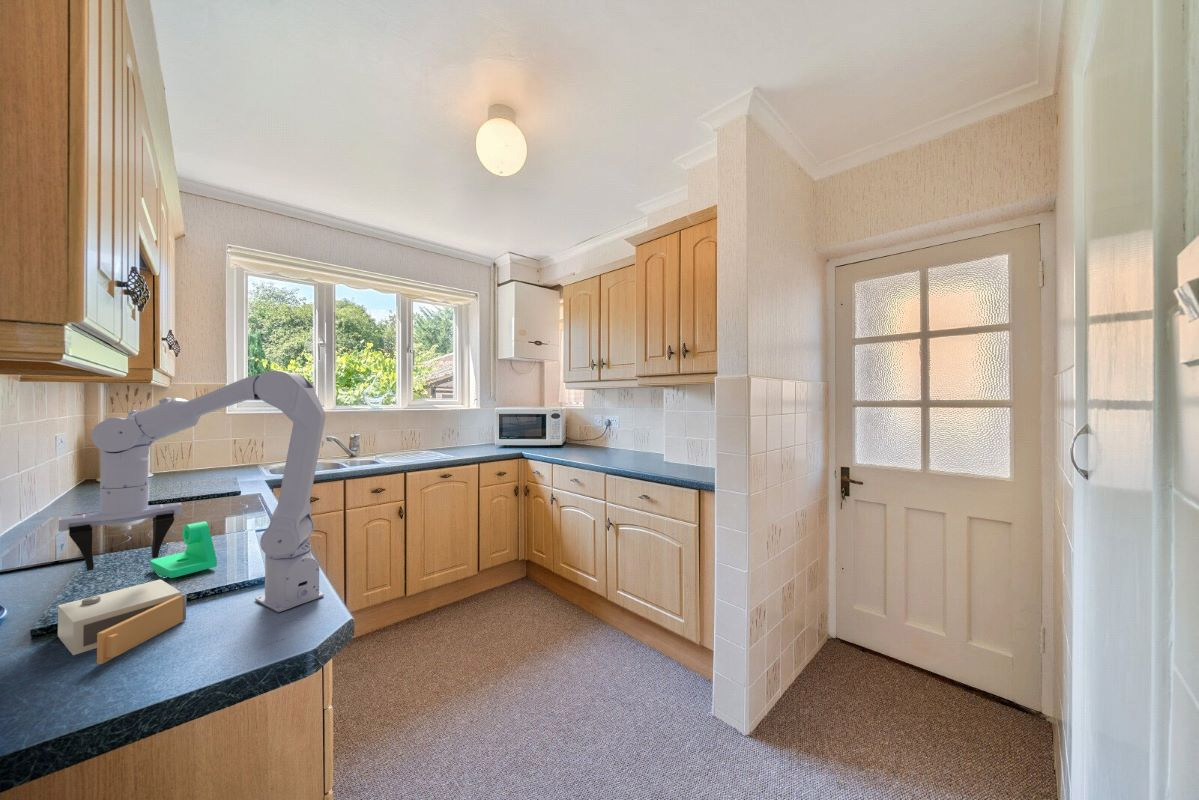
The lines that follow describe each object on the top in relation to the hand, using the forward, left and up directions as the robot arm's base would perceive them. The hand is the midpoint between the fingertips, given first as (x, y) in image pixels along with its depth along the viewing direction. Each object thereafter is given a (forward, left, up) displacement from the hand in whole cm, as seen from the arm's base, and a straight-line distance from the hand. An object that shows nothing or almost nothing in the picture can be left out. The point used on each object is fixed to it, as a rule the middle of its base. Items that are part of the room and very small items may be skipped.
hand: (123, 562), depth 76 cm
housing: (-5, +1, -10) cm, 11 cm away
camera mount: (+18, -13, -10) cm, 24 cm away
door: (-14, 0, -9) cm, 17 cm away
